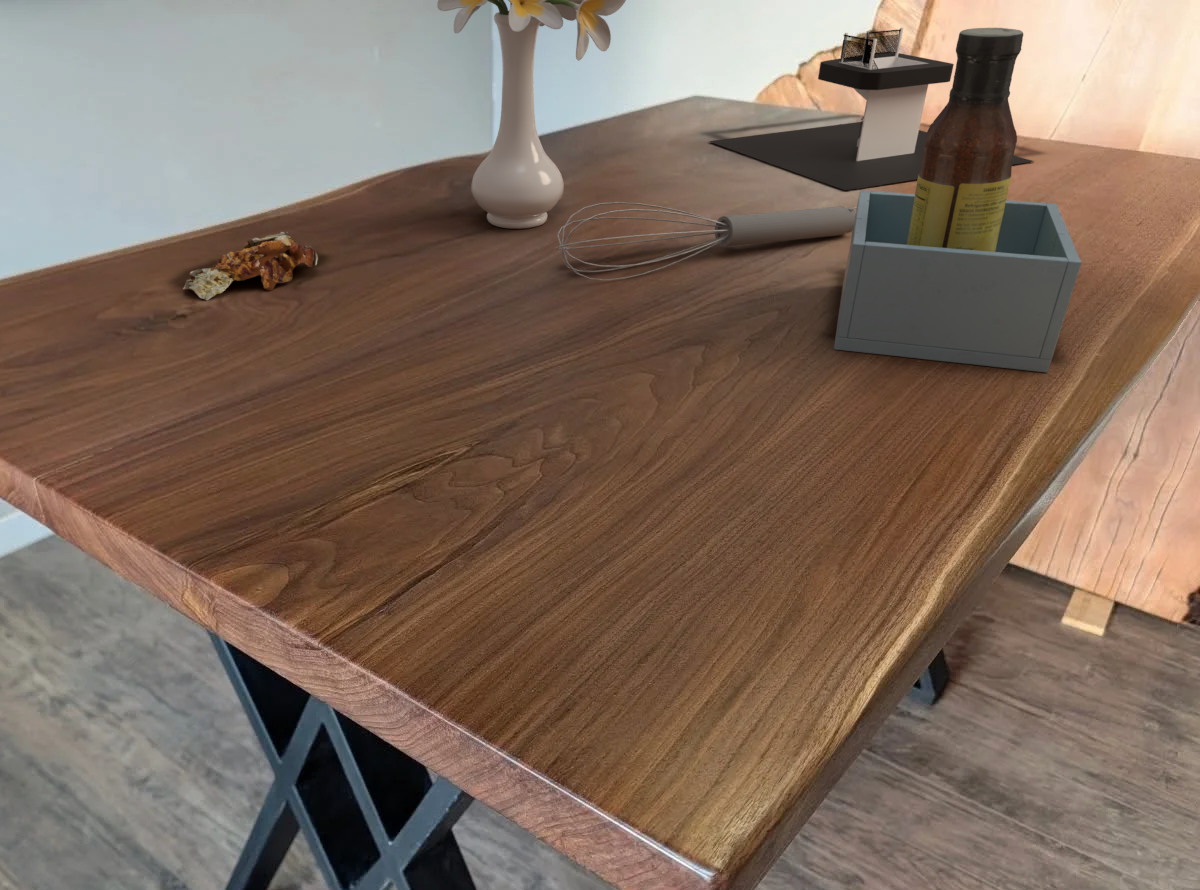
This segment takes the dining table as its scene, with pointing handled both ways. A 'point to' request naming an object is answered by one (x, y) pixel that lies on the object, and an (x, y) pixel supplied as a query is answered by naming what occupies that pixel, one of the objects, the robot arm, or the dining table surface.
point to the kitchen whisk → (733, 230)
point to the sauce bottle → (969, 148)
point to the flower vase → (526, 106)
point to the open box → (957, 288)
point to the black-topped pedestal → (873, 145)
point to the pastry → (253, 265)
